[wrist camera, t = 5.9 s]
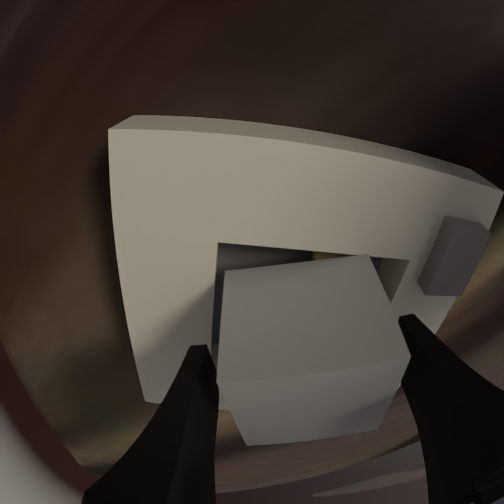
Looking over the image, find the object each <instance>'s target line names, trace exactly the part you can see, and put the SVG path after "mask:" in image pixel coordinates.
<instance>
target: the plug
mask: <svg viewBox="0 0 504 504" xmlns="http://www.w3.org/2000/svg"><path fill="white" fill-rule="evenodd" d="M410 358H411V355H410V352H409V350H408V347H407V344H406V342H405V339H404V337H403V334H402V332H401V329H400V326H399V324H398V321H397V319H396V317H395V314H394V312H393V309H392V307H391V304H390V302H389V300H388V297H387V295H386V293H385V290H384V288H383V286H382V283H381V281H380V279H379V277H378V274H377V272H376V270H375V268H374V266H373V263H372V261H371V259H370V257H369V255H368V254H363V255H356V256H348V257H347V255H346V254H341V253H330V252H319V251H312V261H307V262H299V263H290V264H282V265H273V266H265V267H256V268H247V269H238V270H229V271H225V277H224V288H223V300H222V312H221V325H220V338H219V351H218V365H217V380H216V383H217V385H218V387H219V389H220V392H221V394H222V396H223V398H224V400H225V402H226V404H227V406H228V409H229V411H230V413H231V415H232V417H233V419H234V421H235V423H236V425H237V427H238V429H239V431H240V433H241V435H242V437H243V439H244V441H245V443H246V445H247V446H250V445H267V444H280V443H291V442H300V441H309V440H317V439H324V438H331V437H337V436H343V435H349V434H355V433H360V432H365V431H370V430H375V429H378V428H379V426H380V424H381V422H382V420H383V418H384V416H385V414H386V412H387V410H388V408H389V406H390V404H391V402H392V400H393V398H394V395H395V393H396V391H397V389H398V387H399V384H400V382H401V380H402V377H403V375H404V373H405V370H406V368H407V365H408V363H409V360H410Z"/></svg>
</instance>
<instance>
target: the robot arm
mask: <svg viewBox="0 0 504 504" xmlns="http://www.w3.org/2000/svg"><path fill="white" fill-rule="evenodd" d="M398 324H399V326H400V329H401V332H402V334H403V337H404V339H405V342H406V344H407V347H408V350H409V352H410V355H411V358H410V360H409V363H408V365H407V368H406V370H405V373H404V375H403V377H402V380H401V385H402V388H403V390H404V393H405V395H406V398H407V400H408V403H409V405H410V408H411V411H412V413H413V416H414V418H415V422H416V425H417V428H418V432H419V437H420V441H421V446H422V451H423V456H424V461H425V469H426V476H427V485H428V500H429V504H504V391H503V390H501V389H500V388H498V387H496V386H495V385H493V384H492V383H490V382H489V381H488V380H486V379H485V378H484V377H482V376H481V375H479V374H478V373H477V372H475V371H474V370H473V369H472V368H471V367H469V366H468V365H467V364H466V363H465V362H464V361H462V360H461V359H460V358H459V357H458V356H457V355H456V354H455V353H454V352H452V351H451V350H450V349H449V348H448V347H447V346H446V345H445V344H444V343H443V342H442V341H441V340H440V339H439V338H438V337H437V336H436V335H435V334H434V333H433V332H432V331H431V330H430V329H429V328H428V327H427V326H426V325H425V324H424V323H423V322H422V321H421V320H420V319H419V318H418V317H417V316H415V315H414V314H408V315H403V316H399V319H398ZM216 380H217V371H216V368H215V365H214V363H213V360H212V357H211V355H210V352H209V349H208V347H207V344H203V345H191V346H190V347H189V348H188V350H187V353H186V355H185V357H184V360H183V362H182V364H181V366H180V368H179V370H178V372H177V375H176V377H175V379H174V381H173V382H172V384H171V386H170V388H169V390H168V392H167V394H166V396H165V397H164V399H163V401H162V402H161V404H160V406H159V408H158V409H157V411H156V413H155V414H154V416H153V417H152V419H151V420H150V422H149V423H148V425H147V426H146V428H145V429H144V430H143V432H142V433H141V434H140V436H139V437H138V438H137V440H136V441H135V442H134V443H133V445H132V446H131V447H130V448H129V449H128V451H127V452H126V453H125V454H124V455H123V456H122V457H121V458H120V459H119V460H118V461H117V462H116V463H115V465H114V466H113V467H112V468H111V469H110V470H109V471H108V472H107V473H105V474H104V475H103V476H102V477H101V478H100V479H99V480H97V481H96V482H95V483H94V484H93V485H92V486H90V487H89V488H88V489H87V490H86V491H85V492H84V496H83V499H82V504H216V495H215V472H214V452H215V440H216V430H217V419H218V409H219V387H218V385H217V383H216Z"/></svg>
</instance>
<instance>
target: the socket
mask: <svg viewBox="0 0 504 504" xmlns="http://www.w3.org/2000/svg"><path fill="white" fill-rule="evenodd" d="M108 143H109V174H110V191H111V205H112V217H113V228H114V238H115V247H116V255H117V263H118V270H119V277H120V284H121V290H122V297H123V303H124V308H125V314H126V319H127V325H128V330H129V335H130V340H131V345H132V349H133V354H134V358H135V363H136V367H137V371H138V376H139V380H140V384H141V388H142V391H143V395H144V399H145V402H152V403H159V404H161V402H162V401H163V399H164V397H165V396H166V394H167V392H168V390H169V388H170V386H171V384H172V382H173V381H174V379H175V377H176V375H177V372H178V370H179V368H180V366H181V364H182V362H183V360H184V357H185V355H186V353H187V350H188V348H189V347H190V346H191V345H203V344H207V347H208V349H209V352H210V355H211V357H212V360H213V363H214V365H215V368H216V371H217V365H218V351H219V338H220V325H221V312H222V300H223V288H224V277H225V271H229V270H238V269H247V268H256V267H265V266H273V265H282V264H290V263H299V262H307V261H312V251H319V252H330V253H341V254H346V255H347V257H348V256H356V255H363V254H368V255H369V257H370V259H371V261H372V263H373V266H374V268H375V270H376V272H377V274H378V277H379V279H380V281H381V283H382V286H383V288H384V290H385V293H386V295H387V297H388V300H389V302H390V304H391V307H392V309H393V312H394V314H395V317H396V319H397V321H398V319H399V316H403V315H408V314H414V315H415V316H417V317H418V318H419V319H420V320H421V321H422V322H423V323H424V324H425V325H426V326H427V327H428V328H429V329H430V330H431V331H432V332H433V333H434V334H435V333H436V332H437V330H438V329H439V327H440V325H441V324H442V322H443V320H444V319H445V317H446V315H447V313H448V312H449V310H450V308H451V307H452V305H453V303H454V301H455V299H456V298H457V296H461V295H462V293H463V291H464V290H465V288H466V286H467V284H468V282H469V280H470V278H471V276H472V274H473V272H474V270H475V268H476V266H477V264H478V262H479V260H480V258H481V256H482V254H483V252H484V249H485V247H486V245H487V243H488V241H489V238H490V236H491V234H492V233H491V232H490V231H489V229H490V227H491V225H492V222H493V220H494V217H495V215H496V212H497V210H498V207H499V204H500V202H501V199H502V196H503V193H504V192H503V191H502V190H501V189H499V188H498V187H496V186H495V185H494V184H492V183H491V182H489V181H488V180H486V179H485V178H483V177H482V176H480V175H479V174H477V173H476V172H474V171H473V170H471V169H469V168H466V167H463V166H460V165H457V164H453V163H450V162H447V161H444V160H440V159H437V158H433V157H430V156H426V155H423V154H419V153H415V152H412V151H408V150H404V149H400V148H396V147H392V146H388V145H383V144H379V143H375V142H370V141H366V140H361V139H356V138H351V137H346V136H341V135H336V134H331V133H325V132H319V131H313V130H307V129H301V128H294V127H288V126H280V125H273V124H265V123H257V122H248V121H238V120H227V119H215V118H201V117H184V116H156V115H134V116H132V117H130V118H128V119H126V120H124V121H122V122H121V123H119V124H117V125H115V126H113V127H112V128H110V129H108ZM400 385H401V382H400V384H399V386H400ZM398 388H399V387H398ZM218 410H229V409H228V406H227V404H226V402H225V400H224V398H223V396H222V394H221V392H220V389H219V409H218Z"/></svg>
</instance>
